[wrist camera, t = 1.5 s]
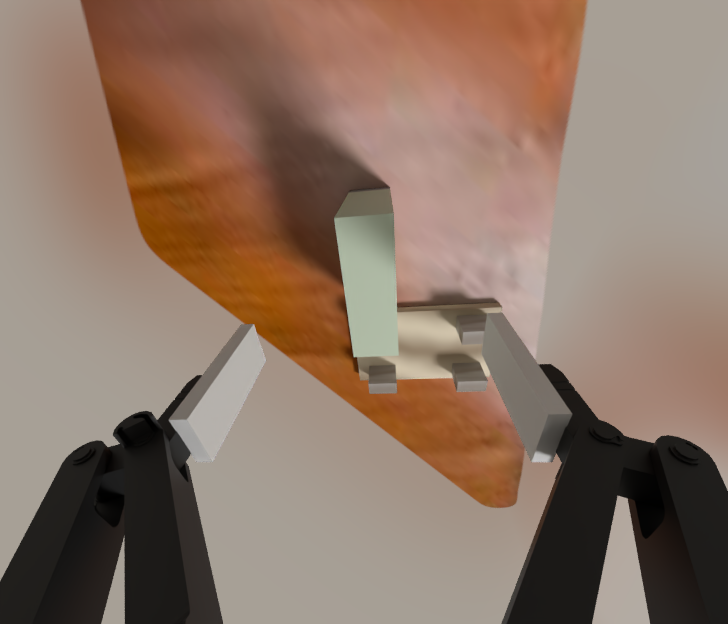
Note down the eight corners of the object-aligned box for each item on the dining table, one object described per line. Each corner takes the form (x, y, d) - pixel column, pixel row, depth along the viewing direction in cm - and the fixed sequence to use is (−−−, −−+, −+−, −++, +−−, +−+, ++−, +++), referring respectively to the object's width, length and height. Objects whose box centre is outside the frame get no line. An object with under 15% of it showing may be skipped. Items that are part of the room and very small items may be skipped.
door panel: (361, 297, 32) (353, 357, 23) (349, 190, 26) (333, 218, 17) (394, 295, 31) (398, 355, 23) (389, 186, 26) (393, 213, 17)
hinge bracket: (352, 309, 32) (348, 330, 29) (498, 302, 31) (513, 323, 27) (360, 374, 38) (358, 398, 34) (486, 371, 36) (497, 395, 33)
